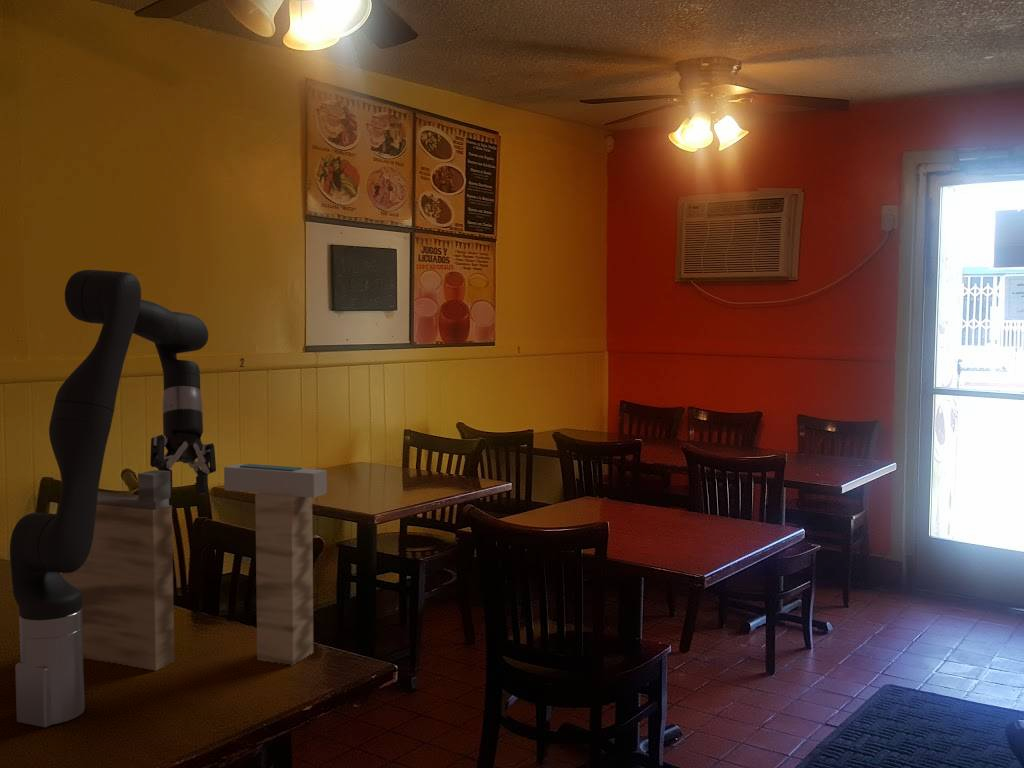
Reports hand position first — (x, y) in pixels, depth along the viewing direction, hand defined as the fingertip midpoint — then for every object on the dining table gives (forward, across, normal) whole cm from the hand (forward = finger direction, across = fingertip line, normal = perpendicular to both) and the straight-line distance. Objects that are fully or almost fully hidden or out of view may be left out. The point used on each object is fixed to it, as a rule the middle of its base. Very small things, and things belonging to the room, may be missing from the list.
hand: (184, 491), depth 184 cm
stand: (+33, +14, -11) cm, 38 cm away
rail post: (+30, -3, +15) cm, 34 cm away
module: (+3, +6, -18) cm, 19 cm away
